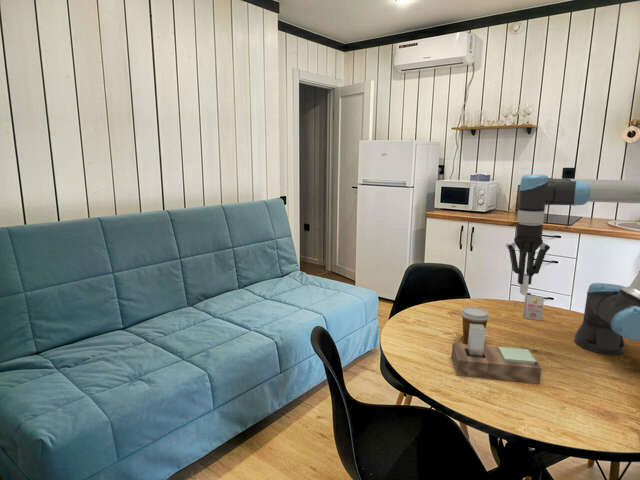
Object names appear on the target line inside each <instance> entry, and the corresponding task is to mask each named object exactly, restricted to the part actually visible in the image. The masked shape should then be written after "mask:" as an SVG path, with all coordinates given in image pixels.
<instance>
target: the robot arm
mask: <svg viewBox="0 0 640 480" xmlns="http://www.w3.org/2000/svg"><path fill="white" fill-rule="evenodd" d="M518 195H519V196H518V197H519V198H518V210H517V222H518V223H516V230H515V237H514V239H513V241H512V242H510V243H506V244H505V246H506V248H507V249H508V253H509V258H510V259H509V260H510V262H511V263H510V264H511V269H512V271H513V272H514V273H515V274H517V275H518V276H517V283H518V284H519V294H521V295H523V296H526V295H528V290H529V289H528V288H529V285H532V279H533V278H532V277H533V276H534V275H538V274H539V273H540V271H541V267H542V264H543V262H544V259H545V257H546V254H547V252H548V251H549V250H550V249H551V246H550V245H549V244H547V243H545V242H544V240H543V237H542V236H543V230H544V229H543V228H544V225H543V224H544V220H545V211H546V210H545V209H546V206H573V207H575V206H583V205H586V204H587V203H589V202H590V203H617V204H621V203H622V204H640V179H639V180H635V179H634V180H633V179H592V178H591V179H589V178H588V179H586V178H553V177H549V176H548V175H546V174H524V175H522V177H521V179H520V186H519V193H518ZM516 247H517V249H518V250H519V251H518V252H519V257H518V258H519V259H518V260H517V254H516ZM538 249H539V250H538ZM537 250H538V253H537V256H536V251H537ZM535 256H536V258H535ZM526 260H527V261H526ZM525 269H526V270H525ZM525 272H526V273H525ZM625 339H627V340H630V341H640V270H639V271H638V272H637V274H636V276H635V277H634V279H633V280H632V282H631V283H630V285H628V286H624V285H620V284H612V283H603V282H594V283H591V284H589V286H588V289H587V292H586V301H585V307H584V313H583V320H582V322H581V324H580V325H579V327H578V329H577V331H576V332H575V334H574V339H573V341H574V342H575V344H576V345H578V346H579V347H581V348H583V349H585V350H588V351H590V352H593V353H597V354H601V355H606V354H607V356H619V355H618V354H620V355H622V354H624V352H625V347H626V346H625V345H626V343H625Z"/></svg>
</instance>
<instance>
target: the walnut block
mask: <svg viewBox="0 0 640 480" xmlns="http://www.w3.org/2000/svg"><path fill="white" fill-rule="evenodd" d="M498 347H499V346H490V345H489V346H488V345H484V350H483V358H479V357H469V356H467V348H468V344H466V343H460V342H459V343H457V342H453V343H452V348H451V360H452V364H453V367H454V371H455V375H456V376H462V377H463V376H464V377H472V378H473V377H474V378H483V379H491V380H492V379H493V380H501V381H511V382H519V383H530V384H538V385H540V384H541V377H542V371H543V370H542V367H541V365H540V364H539V363H538V364H537V365H535V364H524V363H513V362H504V360H503V358H502V356H501V354H500V352H499V350H498Z"/></svg>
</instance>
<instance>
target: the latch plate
mask: <svg viewBox="0 0 640 480" xmlns="http://www.w3.org/2000/svg"><path fill="white" fill-rule="evenodd" d="M497 347H498V350H499V352H500V354H501V356H502V358H503V360H504V362H513V363H524V364H535V365H537V364H539V362H538V361H537V359H536V357H535V356H534V355H533V354H532V352H531V350H530V349H529V348H528V349H526V348H517V347H505V346H504V347H503V346H497Z"/></svg>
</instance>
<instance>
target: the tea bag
mask: <svg viewBox="0 0 640 480" xmlns="http://www.w3.org/2000/svg"><path fill="white" fill-rule="evenodd" d="M544 301H545V297H544V296H538V295H531V294H527V295H525V296H524V304H523V309H522V310H523V312H522V319H524V320H530V321H536V322H542V318H543V310H544Z"/></svg>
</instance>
